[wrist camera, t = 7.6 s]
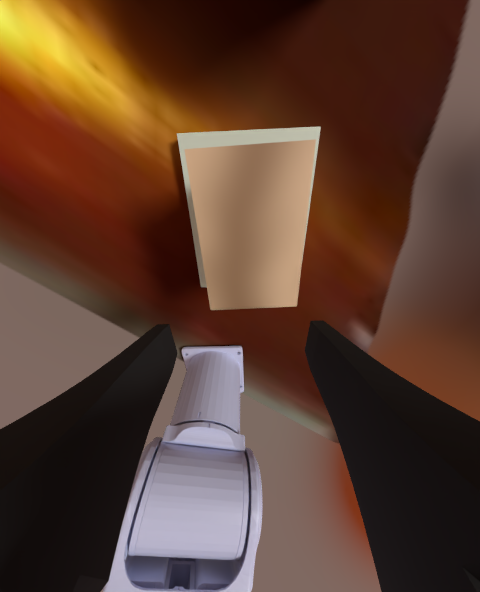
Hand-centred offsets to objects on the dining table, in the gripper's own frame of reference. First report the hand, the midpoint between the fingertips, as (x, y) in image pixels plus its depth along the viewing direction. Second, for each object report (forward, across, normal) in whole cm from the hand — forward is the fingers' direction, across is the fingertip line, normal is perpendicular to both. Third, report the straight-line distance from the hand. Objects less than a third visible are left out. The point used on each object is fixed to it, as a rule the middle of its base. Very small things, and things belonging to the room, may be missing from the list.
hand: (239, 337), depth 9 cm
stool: (+9, -1, -4) cm, 10 cm away
